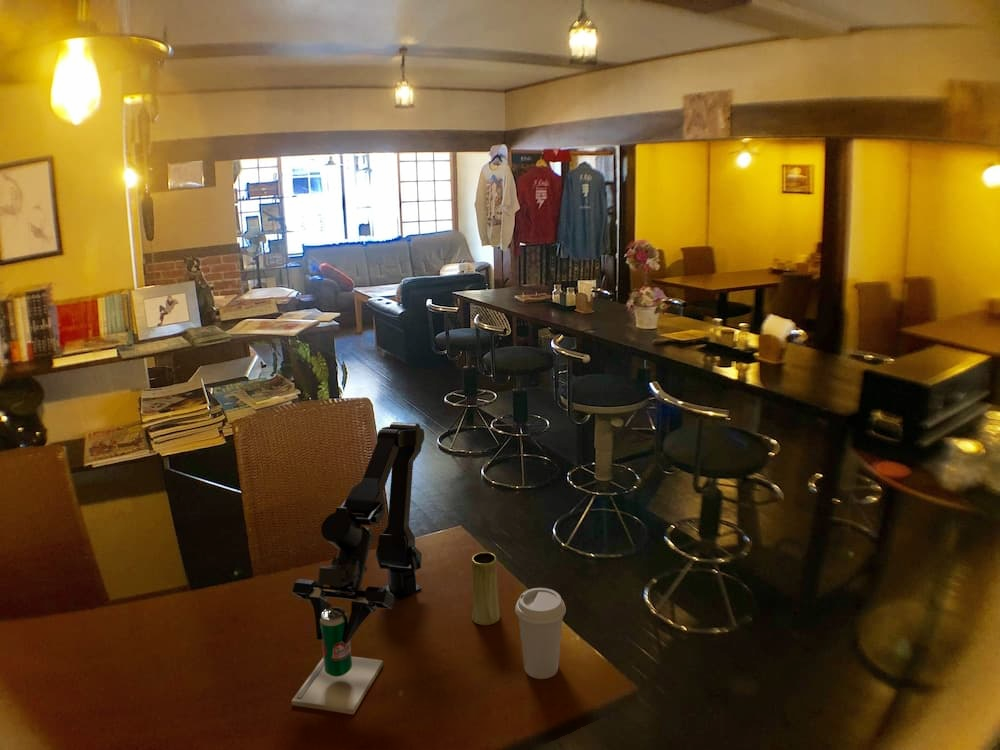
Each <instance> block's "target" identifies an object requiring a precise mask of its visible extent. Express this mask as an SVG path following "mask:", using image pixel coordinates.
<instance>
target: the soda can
mask: <svg viewBox="0 0 1000 750" xmlns="http://www.w3.org/2000/svg"><path fill="white" fill-rule="evenodd" d="M348 621H349V615H348V614H347V612H346V611H345V609H344V608H343V607H340V606H331V608H328V609H326V610H324V611H323V612H322V614H321V618H320V629H321V647H322V655H323V657H322V658H324V667H325V672H326V673H327V674H329V675H331V676H335V677H337V676H342V675H344V674H346V673H347V672H348V671H349V670H350V669H351V667H352V657H351V656H352V647H351V640H350V641H349V642H348V643H347V644H346V643H344V637H345V632H346V629H347V625H348Z"/></svg>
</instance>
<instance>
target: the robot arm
mask: <svg viewBox="0 0 1000 750" xmlns="http://www.w3.org/2000/svg"><path fill="white" fill-rule="evenodd" d="M377 432H378V433H377V435H376V436H377V437H376V444H375V446H374V449H373V451H372V454H371V456H370V459H369V462H368V464H367V467H366V469H365V472H364V474H363V476H362V479H361V481H360V482H359V483H357V484H356V485H355V486H354V487H351V489H350V492H349V493H348V495H347V497H346V499H345V500H344V501H343V503H342V504H341V505H340V506H336V508H335V512H333V513H331V514H329V515H328V516H326V518H325V519H324V521H323V522H322V524H321V527H320V532H321V535H322V537H323V538H324V539H325V540H326V541H327V542H329V543H330V544H331V545H332V546H334V547H335V548H336V549H337V550H338V551H337V554H336V557H333V559H331V560H332V561H331V564H330V565H329V564H328V565H322V566H319V569H318V578H317V581H316V580H313V579H304V578H303V579H302V578H297V579H296V581H294V583H293V584H292V587H291V591H290V593H291V594H293V595H295V596H296V597H298V598H300V599H301V600H305V601H308V602H310V603H311V605H312V607H313V612H314V619H315V631H316V639H317V640H318V641H322V639H321V629H320V618H321V614H322V612H323V611H324V610H326V609H328V608H331V607H332V604H331V603H330V602H328V599H329V598H332V599H341V600H350V601H351V602H350V605H351V608H350V615H349V617H348V625H347V629H346V632H345V637H344V643H346V644H347V643H348V642H349V641H350V642H351V639H352V638H353V637H354V635H355V633H356V632H357V630H358V629H359V627H360V626H361V625H362V623H363V622H364V621H365V620H366V619H367V618H368V616H369V615H370V614H371V613H375V612H376V608H378V609H384V610H393V609H394V604H395V599H397V600H403V599H405V598H407V597H409V596H411V595H413V594H414V593H418V592H419V591H421V590H422V586H420V585H419V584H417V579H416V577H417V576H416V571H417V570H420V569H421V568H422V561H423V558H422V557H423V556H422V555H423V553H422V552H421V551H420V550H419V549H418V548H417V547H416V537H415V535H414V533H413V532H412V529H411V528H410V513H411V500H412V499H411V498H412V487H413V486H412V484H413V470H414V462H415V461H416V459H417V458H418V456H419V455H420V454H421V452H422V448H423V447H422V446H423V443H424V441H425V431H424V428H422V427H421V426H420V424H419V423H414V422H398V421H397V422H395V421H393V422H391V424H390V425H389V426H383V427H381V429H379V431H377ZM390 474H391V476H390ZM389 477H390V489H389V503H388V514H387V517H388V518H387V519H388V520H387V526H386V528H385V529H384V530H383V532H382V533H380V534H379V536H378V539H377V540H378V541H377V542H378V543H377V544H378V545H377V546H376V552H375V555H376V560H377V562H378V566H379V569H383V570H387V579H388V584H387V585H386V586H383V587H378V586H370V585H368V586H367V587H366V589H365V590H363V588H362V582H363V578H364V574H365V573H367V571H368V567H367V566H366V565H367V561H368V560H367V559H368V556H369V551H370V547H371V543H372V542H374V541H375V536H374V534H373V533H372V530H371V528H370V527H364V526H375V525H378V524H380V521H382V520H383V518H384V516H385V514H386V501H385V497H384V492H385V487H386V485H387V483H388V480H389ZM362 525H364V526H362ZM375 607H376V608H375Z"/></svg>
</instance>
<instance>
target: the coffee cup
mask: <svg viewBox="0 0 1000 750" xmlns="http://www.w3.org/2000/svg"><path fill="white" fill-rule="evenodd" d="M514 611H515V614H516V615H517V618H518V623H519V624H518V626H519V633H520V634H519V635H520V641H521V651H522V659H523V667H524V672H525V673H526V674H527V675H528V676H529V677H531V678H534V679H538V680H545V679H549V678H552V677H554V676H555V675H557V672H558V671H559V662H560V653H561V652H560V651H561V641H562V640H561V638H562V632H563V631H562V630H563V628H562V627H563V619H564V616H565V614H566V611H567V609H566V604H565V602H564V600H563V599H562V597H561V595H560V594H559V593H558V592H557V591H555V590H553V589H550V588H547V587H534V588H529V589H527V590H525V591H524V592H522V593H521V594H520V596H519V598H518V600H517V602H516V604H515V607H514Z"/></svg>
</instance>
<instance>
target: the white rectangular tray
mask: <svg viewBox="0 0 1000 750" xmlns="http://www.w3.org/2000/svg"><path fill="white" fill-rule="evenodd" d="M351 657H352V667H351V669H350V670H349V671H348V672H347V673H346V674H344V675H342V676H337V677H335V676H331V675H329V674H327V673H326V672H325V667H324V658H323V657H322V658H321V660H320V661H319V662H318V664H317V665H316V666H315V668H314V669H313V671H312V672H311V673H310V675H309V676H308V677H307V678H306V680H305V681H304V683H303V684H302V685H301V687H300V688H299V690H298V691H297V692H296V694H295V695H294V697H293V698H292V700H291V705H292V706H294V707H295V706H296V707H300V708H301V707H303V708H310V709H315V710H321V711H327V712H334V713H342V714H348V715H355V713H356V711H357V709H358V708H359V706H360V704H361V703H362V701H363V699H364V697H365V696H366V694H367V692H368V691H369V690H370V688H371V686H372V684H373V683H374V681H375V679H376V677H377V676H378V674H379V672H381V669H382V668H383V666H384V661H383V660H381V659H376V658H368V657H360V656H352V655H351Z"/></svg>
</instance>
